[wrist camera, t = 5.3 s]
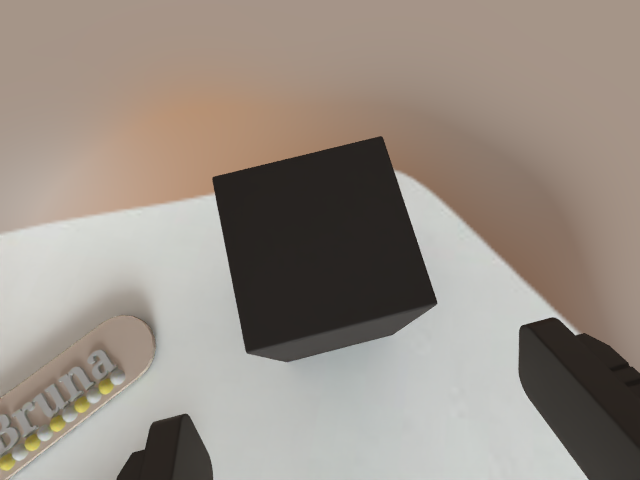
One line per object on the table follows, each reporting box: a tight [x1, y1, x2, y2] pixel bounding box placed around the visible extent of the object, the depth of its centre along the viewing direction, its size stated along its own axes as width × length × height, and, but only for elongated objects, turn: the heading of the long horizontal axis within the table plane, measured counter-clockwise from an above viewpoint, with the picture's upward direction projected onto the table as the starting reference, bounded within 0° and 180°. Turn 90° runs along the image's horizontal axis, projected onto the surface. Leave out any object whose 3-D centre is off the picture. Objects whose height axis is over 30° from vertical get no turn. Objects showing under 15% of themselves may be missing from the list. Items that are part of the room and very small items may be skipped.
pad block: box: [213, 136, 437, 362], centre depth 16 cm, size 5×5×9 cm
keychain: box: [0, 315, 156, 480], centre depth 19 cm, size 10×1×3 cm
